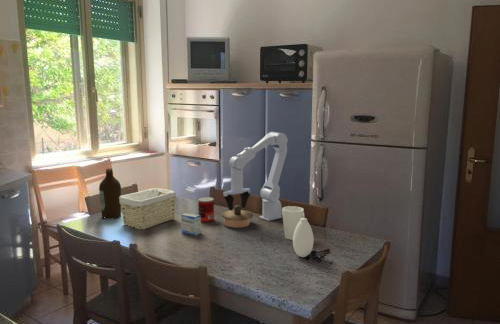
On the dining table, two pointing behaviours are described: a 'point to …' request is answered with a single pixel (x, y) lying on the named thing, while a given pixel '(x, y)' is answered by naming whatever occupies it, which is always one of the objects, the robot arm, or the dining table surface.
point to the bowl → (237, 223)
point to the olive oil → (110, 196)
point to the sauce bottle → (303, 238)
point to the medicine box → (191, 224)
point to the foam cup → (291, 219)
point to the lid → (237, 214)
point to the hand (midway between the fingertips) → (237, 208)
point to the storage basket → (148, 207)
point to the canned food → (206, 209)
